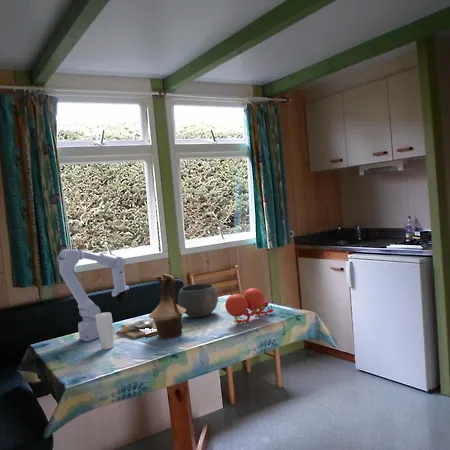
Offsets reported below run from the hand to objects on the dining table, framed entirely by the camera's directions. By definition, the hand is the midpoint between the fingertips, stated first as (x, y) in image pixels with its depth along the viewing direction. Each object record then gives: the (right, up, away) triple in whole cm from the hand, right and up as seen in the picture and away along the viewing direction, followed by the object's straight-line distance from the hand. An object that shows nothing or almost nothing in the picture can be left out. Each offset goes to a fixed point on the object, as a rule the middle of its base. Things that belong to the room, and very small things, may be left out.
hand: (122, 306), depth 231 cm
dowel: (+5, -9, -15) cm, 18 cm away
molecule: (+64, -4, -15) cm, 65 cm away
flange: (+10, -8, -12) cm, 17 cm away
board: (+13, -9, -11) cm, 19 cm away
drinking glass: (0, -13, -31) cm, 33 cm away
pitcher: (+27, -9, -23) cm, 37 cm away
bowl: (+39, -5, +4) cm, 39 cm away
